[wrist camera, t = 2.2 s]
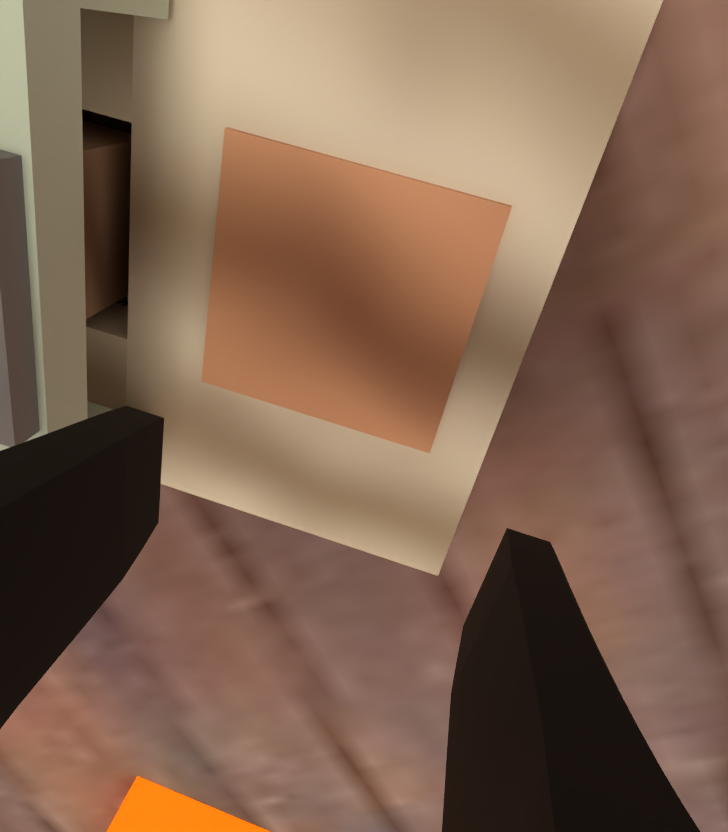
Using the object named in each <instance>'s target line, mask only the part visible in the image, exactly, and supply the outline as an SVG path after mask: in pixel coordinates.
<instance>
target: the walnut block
mask: <svg viewBox="0 0 728 832" xmlns="http://www.w3.org/2000/svg"><path fill="white" fill-rule="evenodd" d="M82 133H83V190H84V246H85V303H86V319H88V318H89V317H91V316H93V315H95V314H96V313H98V312H100V311H102V310H103V309H105V308H107V307H109V306H111V305H112V304H114V303H116V302H118V301H119V300H121V299H123V298H125V297H126V296H128V281H129V231H130V182H131V134H127V133H123V132H120V131H116V130H113V129H109V128H105V127H102V126H98V125H95V124H91V123H88V122H84V121H82Z"/></svg>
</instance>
